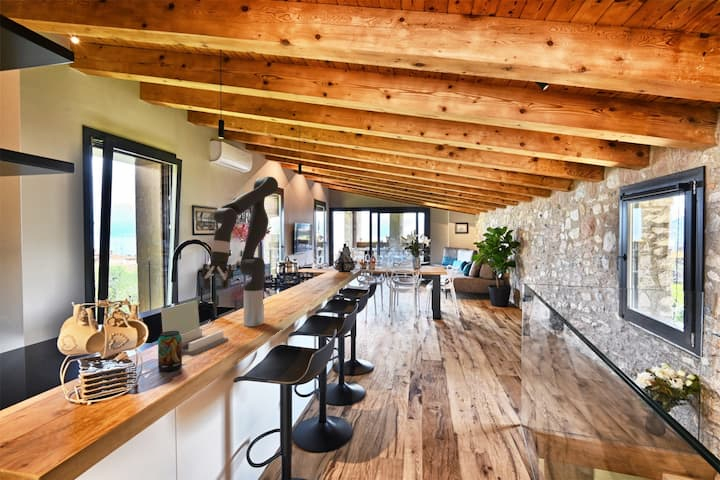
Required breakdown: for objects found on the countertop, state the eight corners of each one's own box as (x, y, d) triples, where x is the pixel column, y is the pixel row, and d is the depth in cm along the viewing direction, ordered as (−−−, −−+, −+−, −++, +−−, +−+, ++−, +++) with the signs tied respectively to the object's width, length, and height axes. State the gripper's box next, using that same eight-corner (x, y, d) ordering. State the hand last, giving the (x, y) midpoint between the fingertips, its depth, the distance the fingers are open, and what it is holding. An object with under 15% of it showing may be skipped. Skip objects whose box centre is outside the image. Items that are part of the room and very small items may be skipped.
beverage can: (166, 374, 121) (166, 337, 121) (153, 370, 125) (153, 333, 125) (186, 367, 127) (186, 332, 127) (173, 363, 131) (173, 329, 131)
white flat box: (196, 337, 164) (196, 327, 164) (228, 340, 159) (228, 330, 159) (159, 351, 144) (159, 340, 144) (194, 355, 140) (194, 344, 140)
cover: (199, 328, 163) (198, 328, 163) (197, 300, 163) (195, 300, 163) (165, 340, 144) (163, 340, 145) (162, 309, 144) (161, 309, 145)
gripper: (239, 253, 171) (234, 289, 169) (211, 252, 174) (206, 287, 172) (230, 251, 164) (225, 289, 162) (201, 249, 167) (195, 286, 165)
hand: (215, 288), depth 167 cm, fingers open, 8 cm apart
